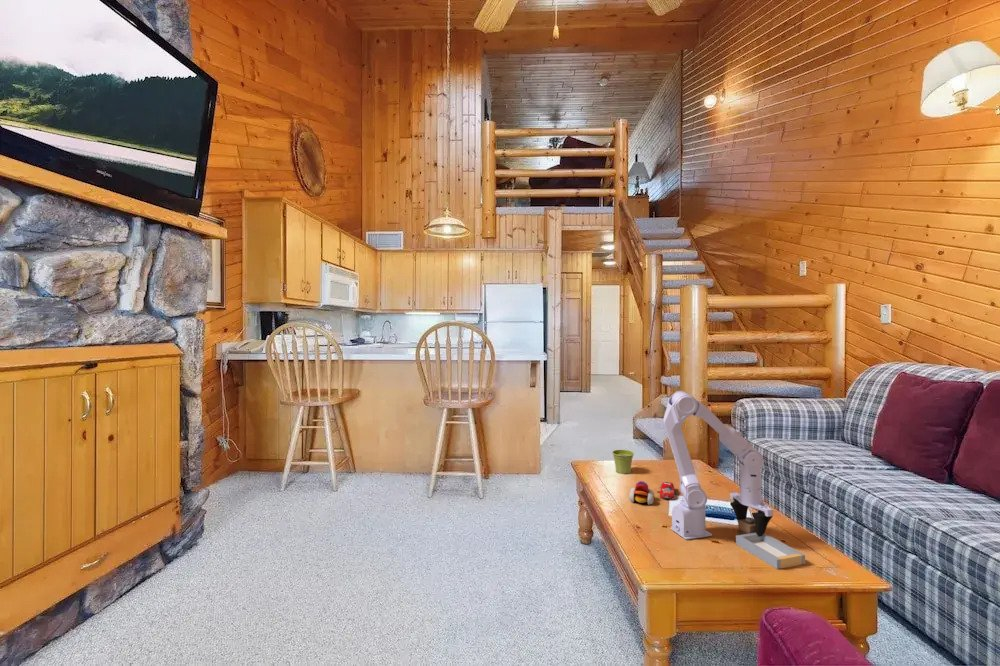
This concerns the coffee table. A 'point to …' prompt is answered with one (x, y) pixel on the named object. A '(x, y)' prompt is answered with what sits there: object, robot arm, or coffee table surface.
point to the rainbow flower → (641, 493)
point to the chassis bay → (770, 550)
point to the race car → (667, 490)
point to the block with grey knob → (746, 526)
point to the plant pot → (623, 460)
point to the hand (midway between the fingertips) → (751, 530)
